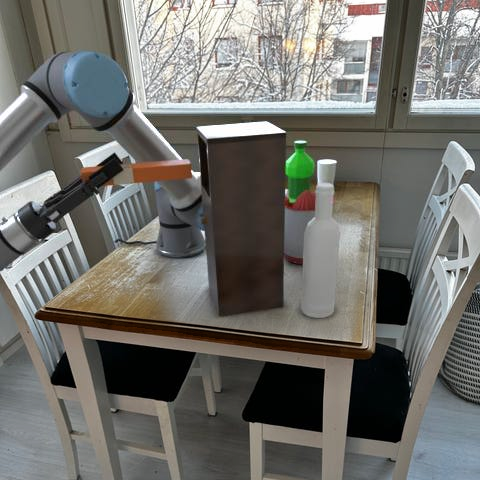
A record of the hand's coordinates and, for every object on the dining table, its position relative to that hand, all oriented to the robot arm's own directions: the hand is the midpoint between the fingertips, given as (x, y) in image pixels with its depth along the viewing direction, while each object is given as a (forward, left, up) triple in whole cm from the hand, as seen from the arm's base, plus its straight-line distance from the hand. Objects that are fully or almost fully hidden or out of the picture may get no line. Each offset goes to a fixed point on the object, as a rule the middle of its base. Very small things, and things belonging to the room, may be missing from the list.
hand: (118, 161), depth 94 cm
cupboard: (+24, +9, -36) cm, 44 cm away
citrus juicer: (+38, +35, -36) cm, 63 cm away
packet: (+3, +1, -4) cm, 5 cm away
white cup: (+47, +110, -36) cm, 125 cm away
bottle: (+42, +4, -36) cm, 55 cm away
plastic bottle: (+36, +73, -36) cm, 89 cm away
